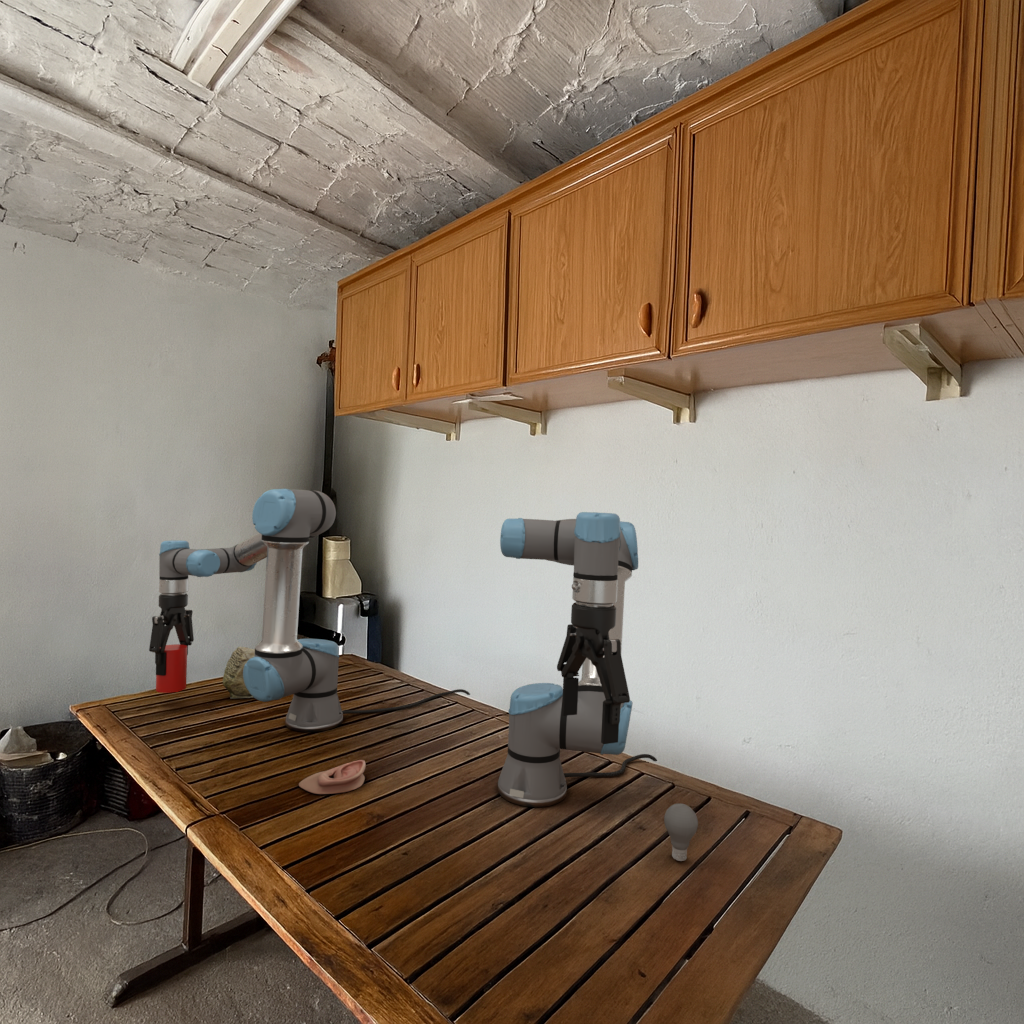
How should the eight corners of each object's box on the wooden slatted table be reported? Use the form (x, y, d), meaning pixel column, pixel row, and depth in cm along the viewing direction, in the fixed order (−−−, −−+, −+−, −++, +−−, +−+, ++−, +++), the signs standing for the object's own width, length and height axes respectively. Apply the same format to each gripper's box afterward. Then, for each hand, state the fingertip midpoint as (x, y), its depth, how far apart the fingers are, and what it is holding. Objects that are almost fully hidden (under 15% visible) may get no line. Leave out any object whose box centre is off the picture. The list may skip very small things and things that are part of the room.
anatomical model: (291, 772, 135) (318, 751, 147) (291, 790, 136) (317, 768, 147) (349, 780, 133) (372, 758, 144) (348, 799, 133) (371, 776, 144)
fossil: (218, 695, 195) (220, 647, 195) (278, 685, 208) (279, 640, 207) (228, 703, 189) (230, 653, 188) (289, 692, 201) (290, 645, 201)
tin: (150, 689, 184) (151, 647, 184) (178, 683, 191) (179, 643, 190) (163, 694, 180) (164, 651, 179) (191, 688, 186) (192, 647, 186)
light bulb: (658, 850, 118) (660, 797, 118) (689, 850, 119) (691, 797, 119) (668, 869, 112) (671, 813, 112) (701, 868, 113) (704, 813, 113)
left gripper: (186, 588, 196) (185, 661, 196) (134, 597, 175) (132, 679, 176) (208, 589, 194) (206, 663, 194) (158, 599, 174) (156, 681, 174)
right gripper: (542, 592, 117) (537, 706, 118) (614, 617, 94) (608, 759, 95) (577, 591, 120) (572, 702, 121) (656, 616, 97) (650, 753, 98)
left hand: (171, 671), depth 185 cm, fingers closed on tin, 8 cm apart
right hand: (588, 727), depth 108 cm, fingers open, 13 cm apart
